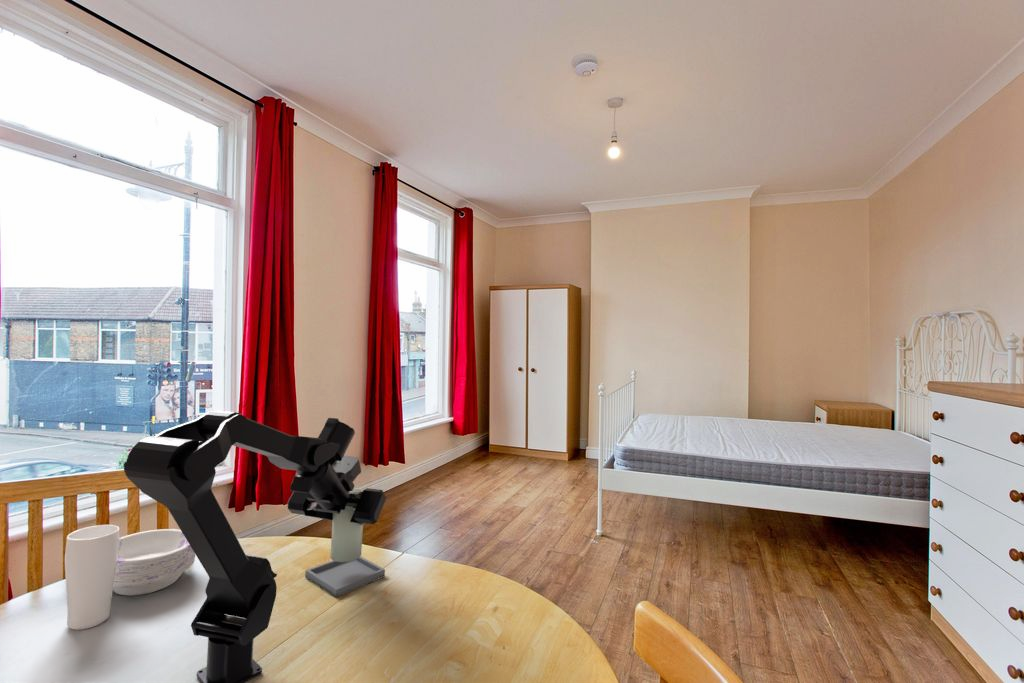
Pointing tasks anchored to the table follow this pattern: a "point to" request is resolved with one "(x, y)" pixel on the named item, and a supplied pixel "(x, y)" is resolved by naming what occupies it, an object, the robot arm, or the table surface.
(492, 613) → the table surface
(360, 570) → the tray
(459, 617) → the table surface
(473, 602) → the table surface
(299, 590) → the table surface
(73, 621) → the white vase
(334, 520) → the domed cap cylinder
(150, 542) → the paper bowls
